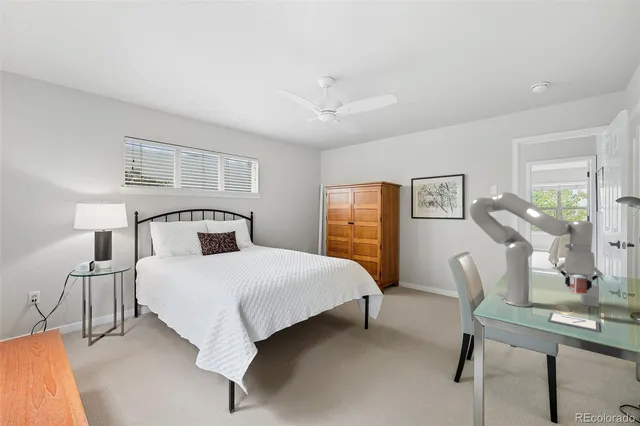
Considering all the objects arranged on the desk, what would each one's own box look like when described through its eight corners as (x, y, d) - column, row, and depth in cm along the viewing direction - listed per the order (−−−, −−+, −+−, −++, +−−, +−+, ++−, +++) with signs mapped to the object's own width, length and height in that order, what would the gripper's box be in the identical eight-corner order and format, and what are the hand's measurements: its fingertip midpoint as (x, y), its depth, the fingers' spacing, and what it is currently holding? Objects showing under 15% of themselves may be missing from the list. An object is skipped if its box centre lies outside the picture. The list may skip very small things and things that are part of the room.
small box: (598, 307, 143) (599, 286, 143) (583, 305, 146) (583, 284, 146) (594, 302, 149) (594, 282, 149) (580, 301, 152) (580, 281, 152)
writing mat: (547, 321, 125) (547, 319, 125) (550, 313, 134) (550, 311, 134) (599, 332, 114) (599, 330, 114) (598, 322, 123) (598, 320, 123)
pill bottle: (588, 294, 131) (590, 269, 131) (584, 296, 128) (585, 271, 127) (571, 290, 136) (572, 266, 136) (566, 292, 133) (567, 268, 132)
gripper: (554, 246, 134) (552, 285, 135) (607, 251, 122) (604, 293, 123) (556, 245, 140) (554, 282, 140) (606, 249, 128) (604, 290, 129)
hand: (577, 287), depth 132 cm, fingers closed on pill bottle, 6 cm apart
